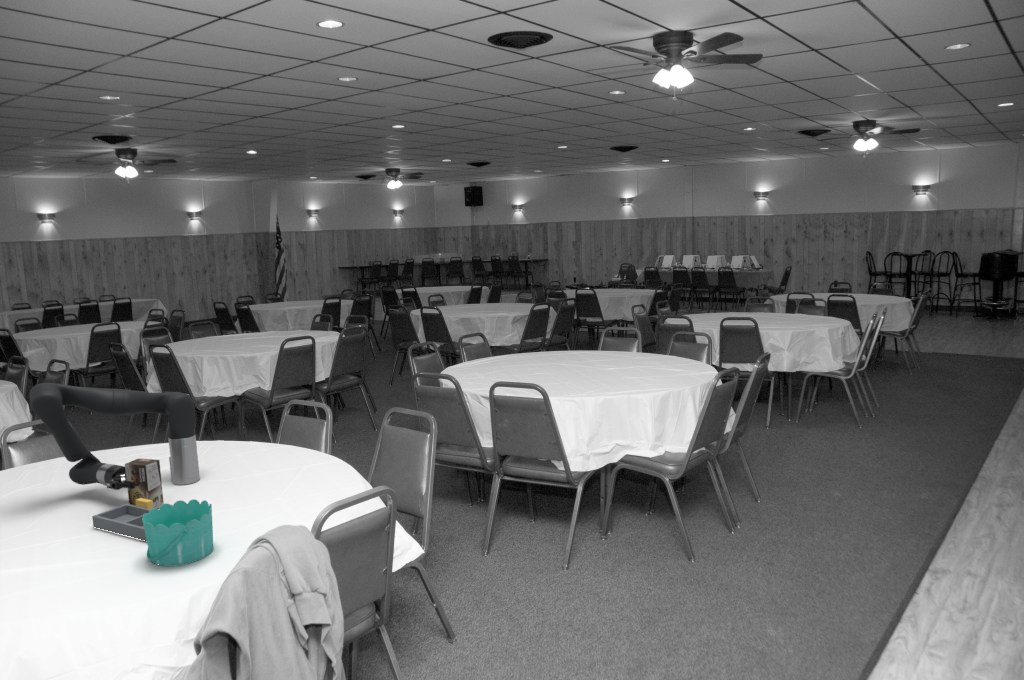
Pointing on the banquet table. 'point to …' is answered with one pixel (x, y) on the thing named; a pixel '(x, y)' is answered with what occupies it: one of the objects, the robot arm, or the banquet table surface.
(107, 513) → the grey divided tray
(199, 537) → the basket
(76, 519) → the banquet table surface
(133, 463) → the coffee box
